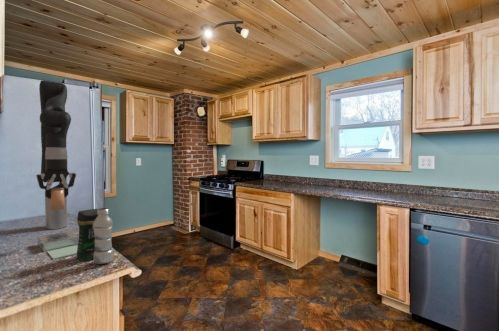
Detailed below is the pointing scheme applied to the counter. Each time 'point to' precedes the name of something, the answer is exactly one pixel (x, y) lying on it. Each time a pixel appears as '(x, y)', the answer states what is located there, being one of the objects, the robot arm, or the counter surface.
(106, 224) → the plastic bottle
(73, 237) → the housing
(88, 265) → the counter surface
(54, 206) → the tan rounded cylinder
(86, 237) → the coffee jar
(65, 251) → the mat
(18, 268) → the counter surface
